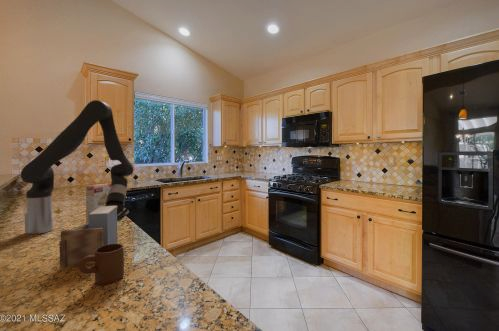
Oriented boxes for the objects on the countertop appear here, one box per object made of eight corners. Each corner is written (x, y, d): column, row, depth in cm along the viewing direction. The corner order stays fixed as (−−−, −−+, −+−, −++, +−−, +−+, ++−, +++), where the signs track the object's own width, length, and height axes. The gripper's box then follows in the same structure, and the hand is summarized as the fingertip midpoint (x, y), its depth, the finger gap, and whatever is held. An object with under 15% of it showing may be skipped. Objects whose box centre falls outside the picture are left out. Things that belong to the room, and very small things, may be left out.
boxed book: (89, 257, 85) (88, 214, 84) (101, 243, 98) (100, 206, 97) (108, 255, 86) (107, 213, 86) (117, 242, 100) (117, 205, 99)
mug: (85, 296, 62) (85, 261, 61) (72, 287, 66) (71, 255, 65) (129, 276, 72) (128, 246, 72) (115, 270, 76) (115, 241, 75)
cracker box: (95, 224, 126) (94, 186, 125) (85, 223, 127) (84, 185, 126) (114, 217, 140) (114, 183, 139) (106, 217, 141) (105, 182, 140)
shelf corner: (60, 268, 77) (59, 232, 76) (94, 236, 107) (94, 210, 107) (101, 263, 80) (100, 229, 80) (123, 233, 111) (123, 209, 110)
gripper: (98, 192, 106) (89, 226, 95) (130, 191, 110) (125, 224, 98) (102, 201, 111) (94, 235, 100) (133, 200, 115) (128, 232, 104)
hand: (109, 229), depth 99 cm, fingers closed
